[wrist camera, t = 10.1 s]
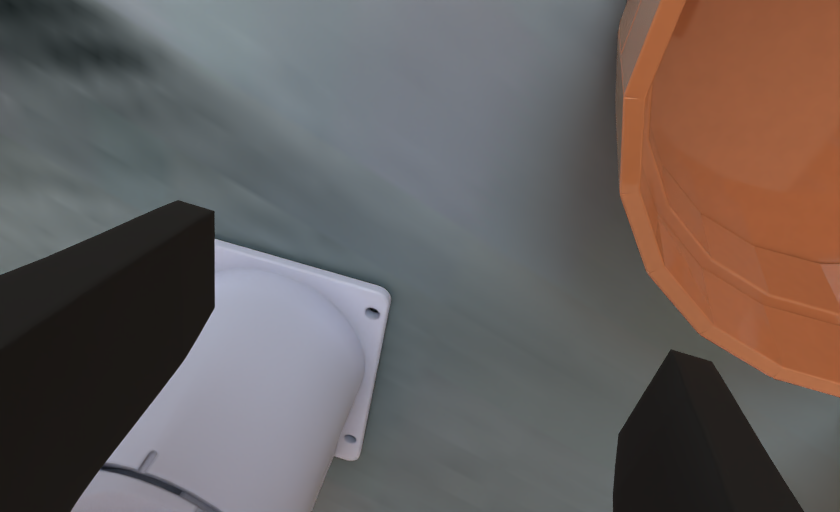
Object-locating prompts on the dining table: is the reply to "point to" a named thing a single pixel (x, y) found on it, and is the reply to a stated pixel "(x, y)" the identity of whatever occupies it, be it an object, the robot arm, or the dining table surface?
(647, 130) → the basin
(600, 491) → the dining table surface
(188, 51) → the dining table surface
